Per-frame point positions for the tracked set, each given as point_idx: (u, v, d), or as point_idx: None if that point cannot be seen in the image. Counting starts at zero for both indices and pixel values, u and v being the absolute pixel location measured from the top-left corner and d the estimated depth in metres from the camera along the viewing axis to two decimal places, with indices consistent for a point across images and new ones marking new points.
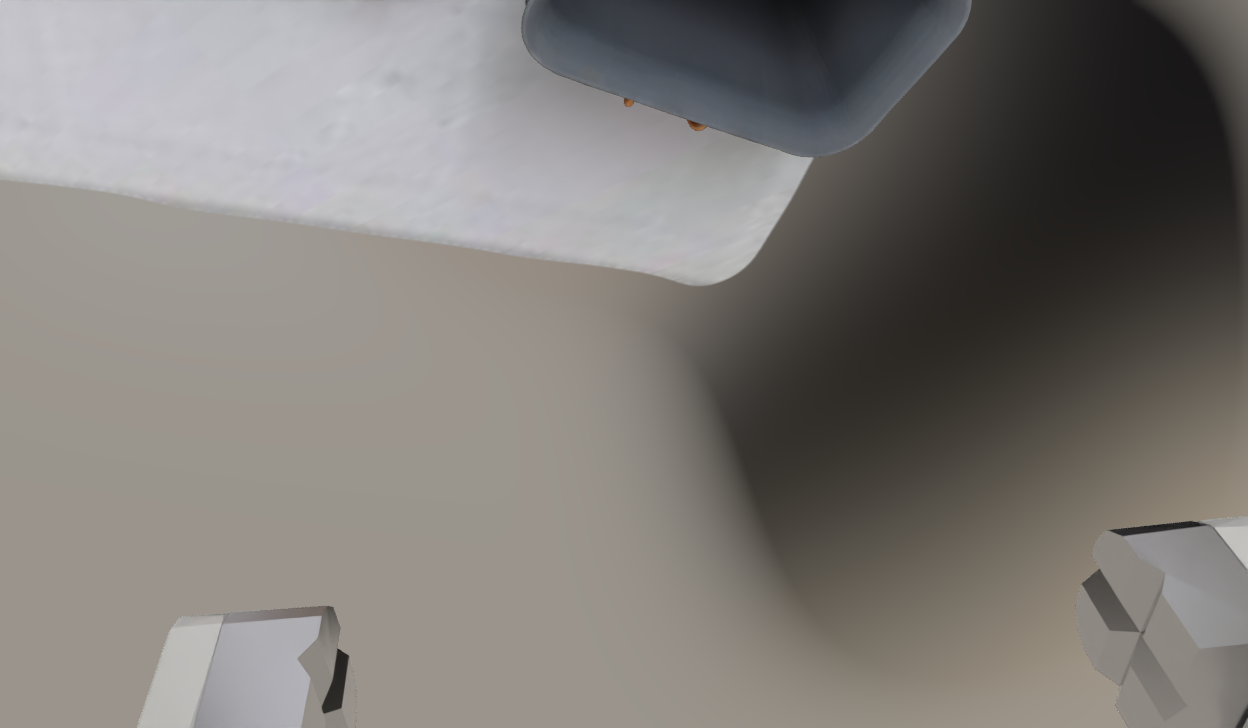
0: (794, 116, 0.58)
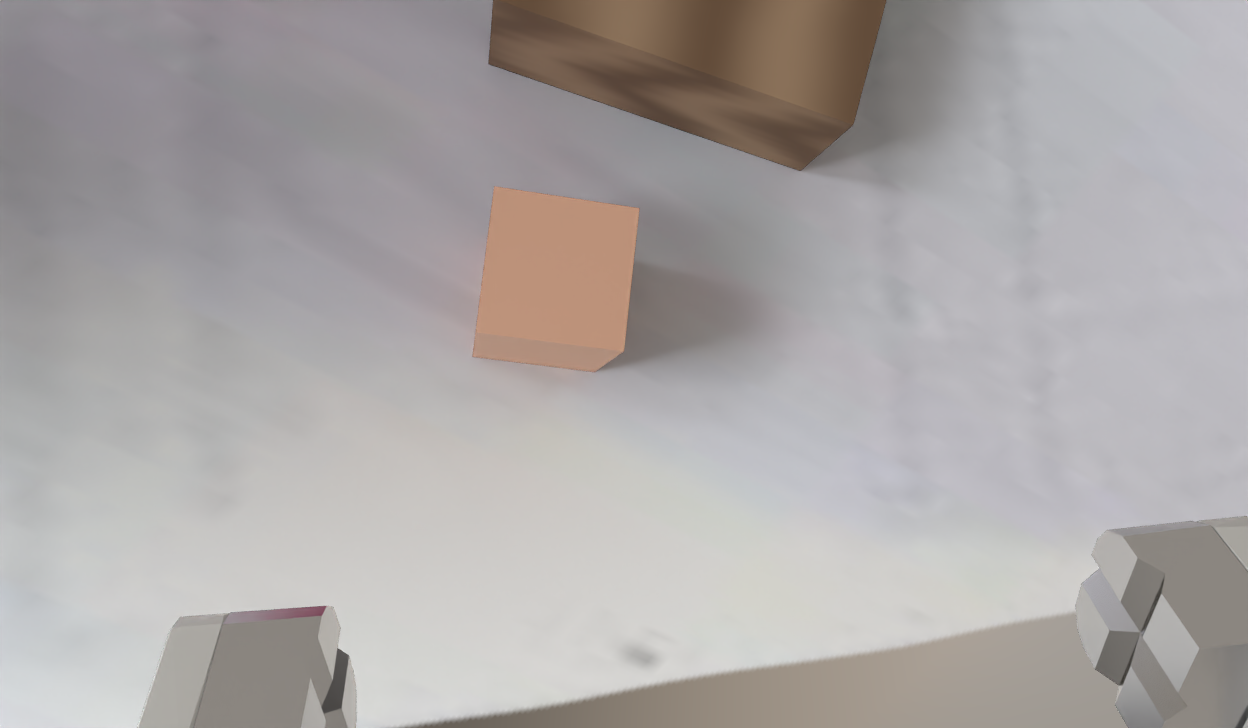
0: None
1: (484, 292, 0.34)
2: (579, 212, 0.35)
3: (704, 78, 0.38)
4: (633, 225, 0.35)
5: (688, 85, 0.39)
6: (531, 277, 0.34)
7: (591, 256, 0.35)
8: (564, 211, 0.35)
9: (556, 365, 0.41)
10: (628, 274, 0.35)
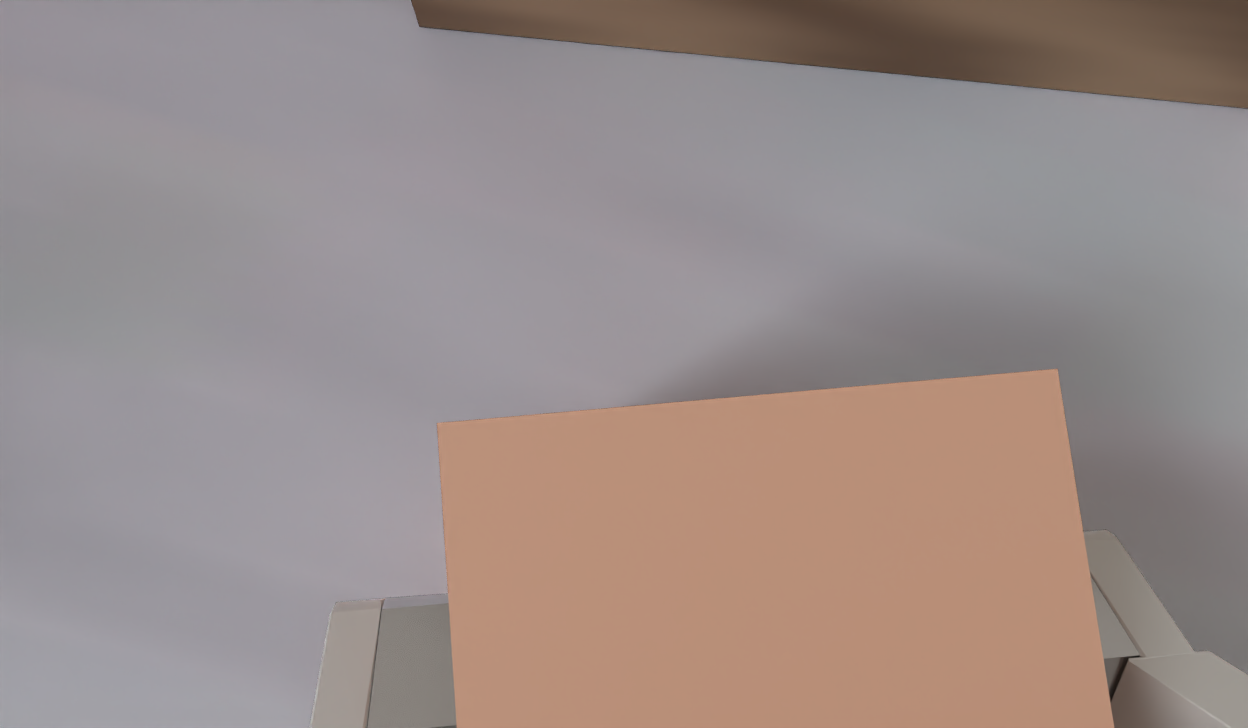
0: None
1: None
2: (816, 447, 0.08)
3: None
4: (1051, 447, 0.08)
5: None
6: None
7: (913, 628, 0.08)
8: (753, 458, 0.08)
9: None
10: (1087, 668, 0.08)
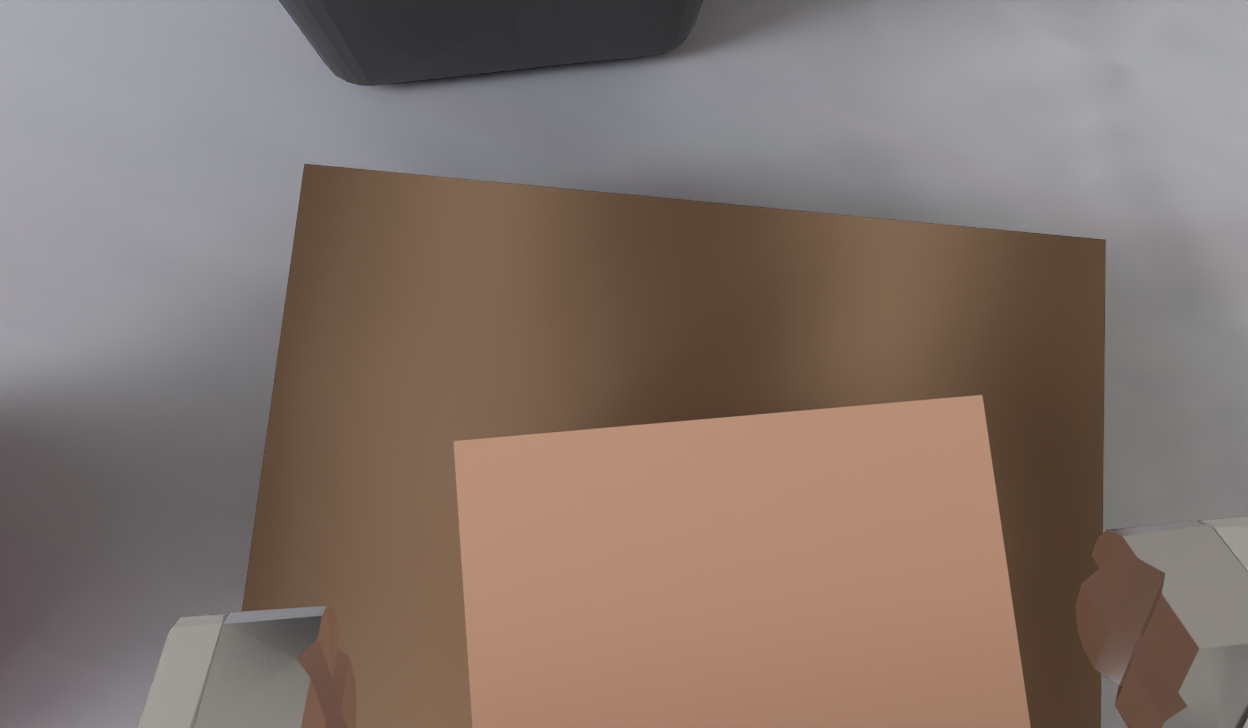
0: None
1: None
2: (775, 462, 0.09)
3: None
4: (976, 462, 0.10)
5: None
6: None
7: (857, 616, 0.09)
8: (722, 472, 0.09)
9: None
10: (1004, 649, 0.09)
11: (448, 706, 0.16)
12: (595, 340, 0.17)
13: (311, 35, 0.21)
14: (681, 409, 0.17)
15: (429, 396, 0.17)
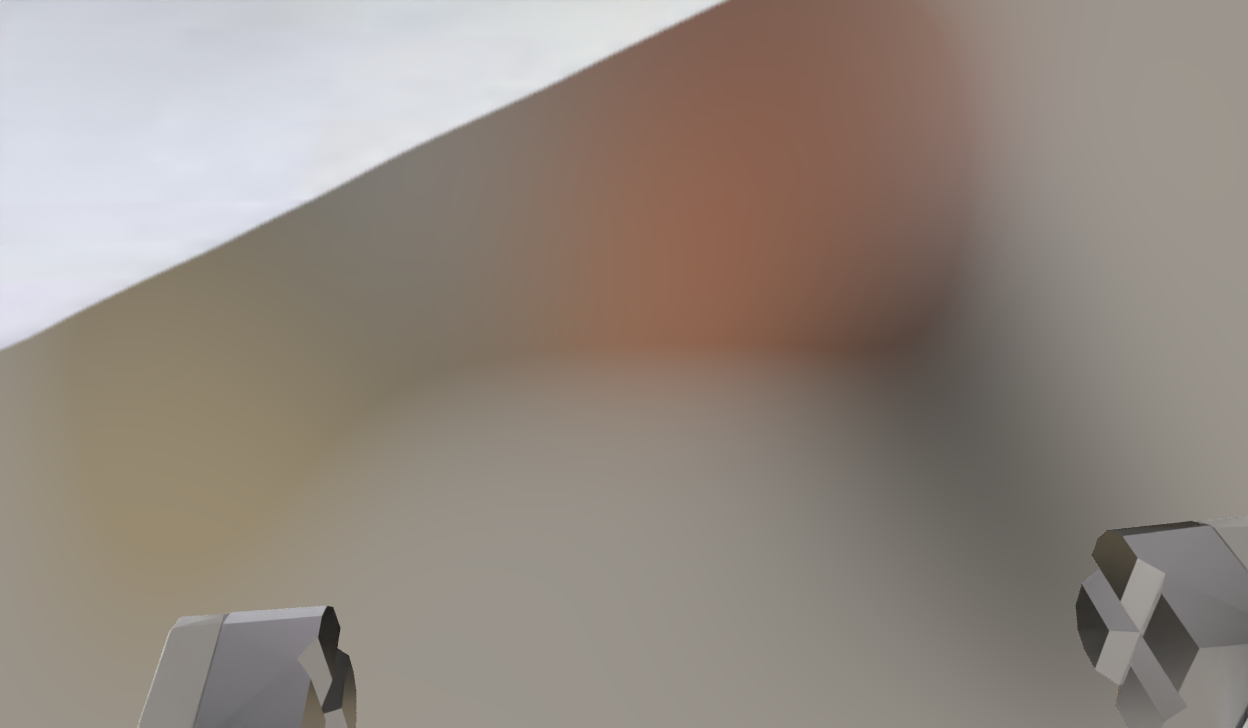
0: None
1: None
2: None
3: None
4: None
5: None
6: None
7: None
8: None
9: None
10: None
11: None
12: None
13: None
14: None
15: None
